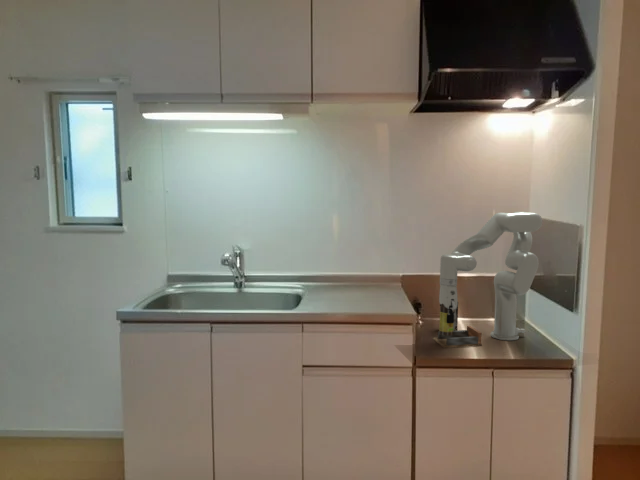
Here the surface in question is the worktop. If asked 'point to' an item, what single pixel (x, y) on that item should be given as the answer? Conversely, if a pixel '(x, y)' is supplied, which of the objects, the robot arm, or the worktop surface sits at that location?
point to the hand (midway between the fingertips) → (446, 320)
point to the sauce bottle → (445, 322)
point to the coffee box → (455, 319)
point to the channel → (460, 338)
